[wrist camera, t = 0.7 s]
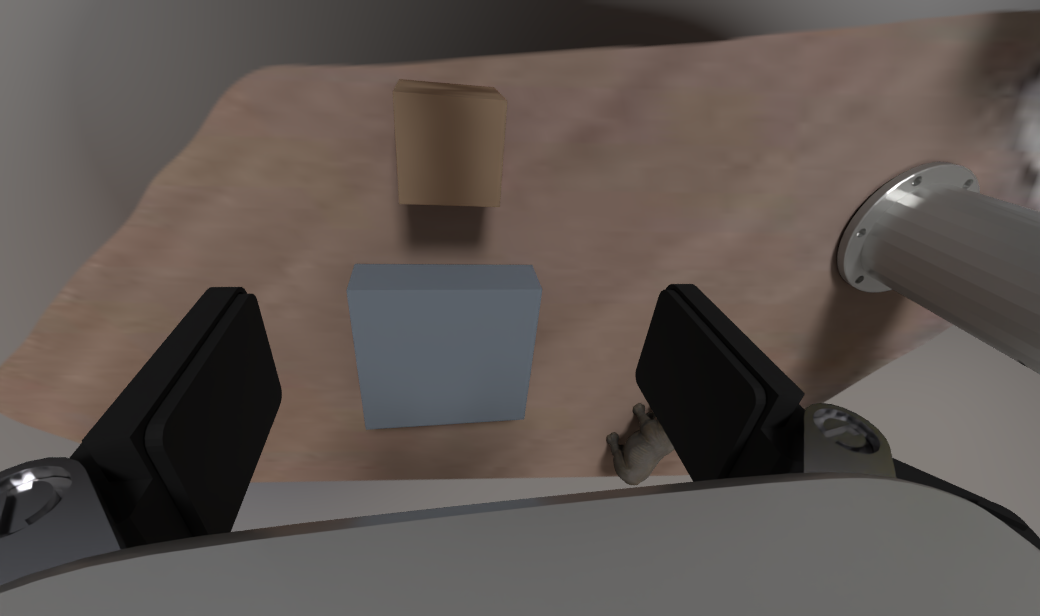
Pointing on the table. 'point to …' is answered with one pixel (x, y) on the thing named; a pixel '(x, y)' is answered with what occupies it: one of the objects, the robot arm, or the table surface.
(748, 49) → the table surface
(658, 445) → the rhino figurine
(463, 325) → the pedestal
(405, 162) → the walnut cube
